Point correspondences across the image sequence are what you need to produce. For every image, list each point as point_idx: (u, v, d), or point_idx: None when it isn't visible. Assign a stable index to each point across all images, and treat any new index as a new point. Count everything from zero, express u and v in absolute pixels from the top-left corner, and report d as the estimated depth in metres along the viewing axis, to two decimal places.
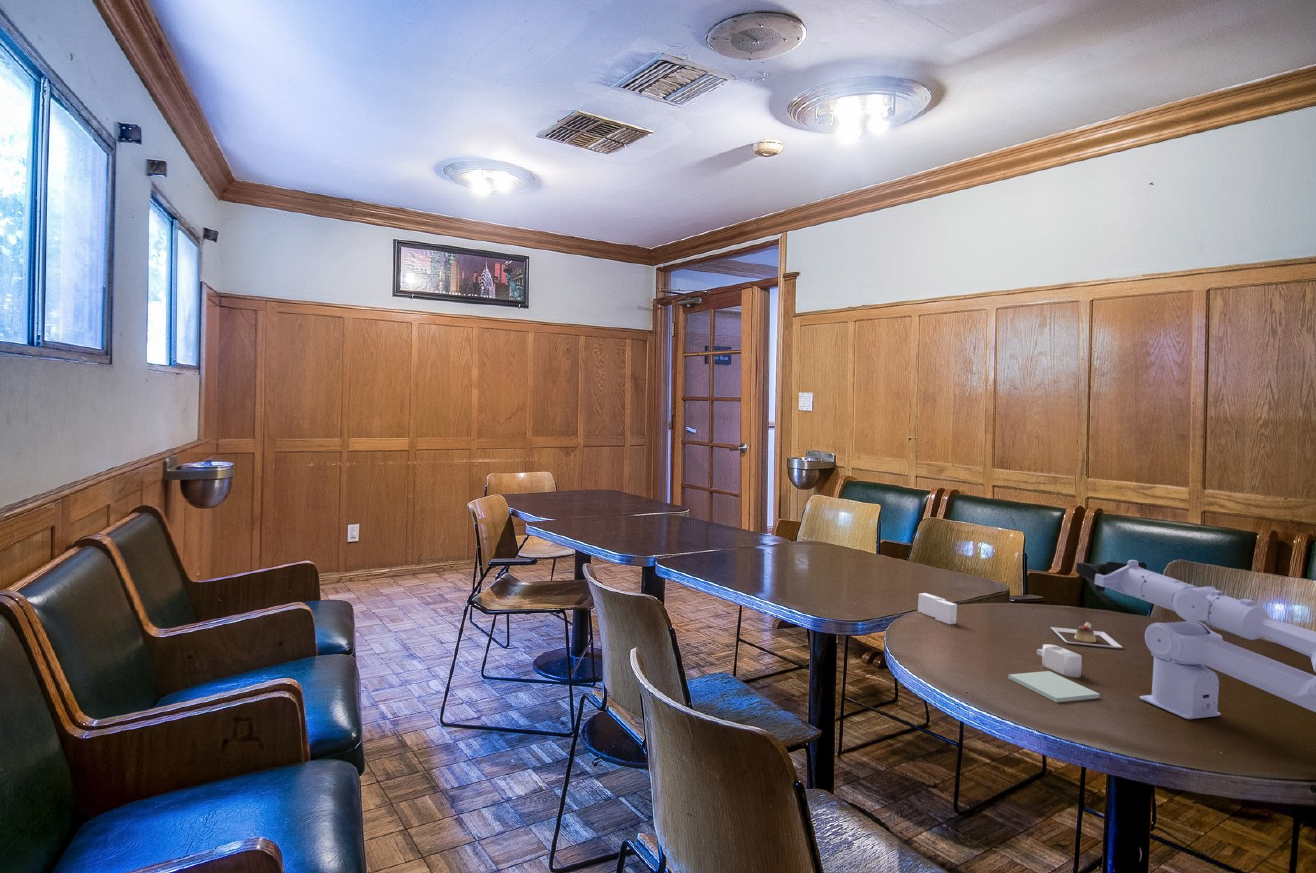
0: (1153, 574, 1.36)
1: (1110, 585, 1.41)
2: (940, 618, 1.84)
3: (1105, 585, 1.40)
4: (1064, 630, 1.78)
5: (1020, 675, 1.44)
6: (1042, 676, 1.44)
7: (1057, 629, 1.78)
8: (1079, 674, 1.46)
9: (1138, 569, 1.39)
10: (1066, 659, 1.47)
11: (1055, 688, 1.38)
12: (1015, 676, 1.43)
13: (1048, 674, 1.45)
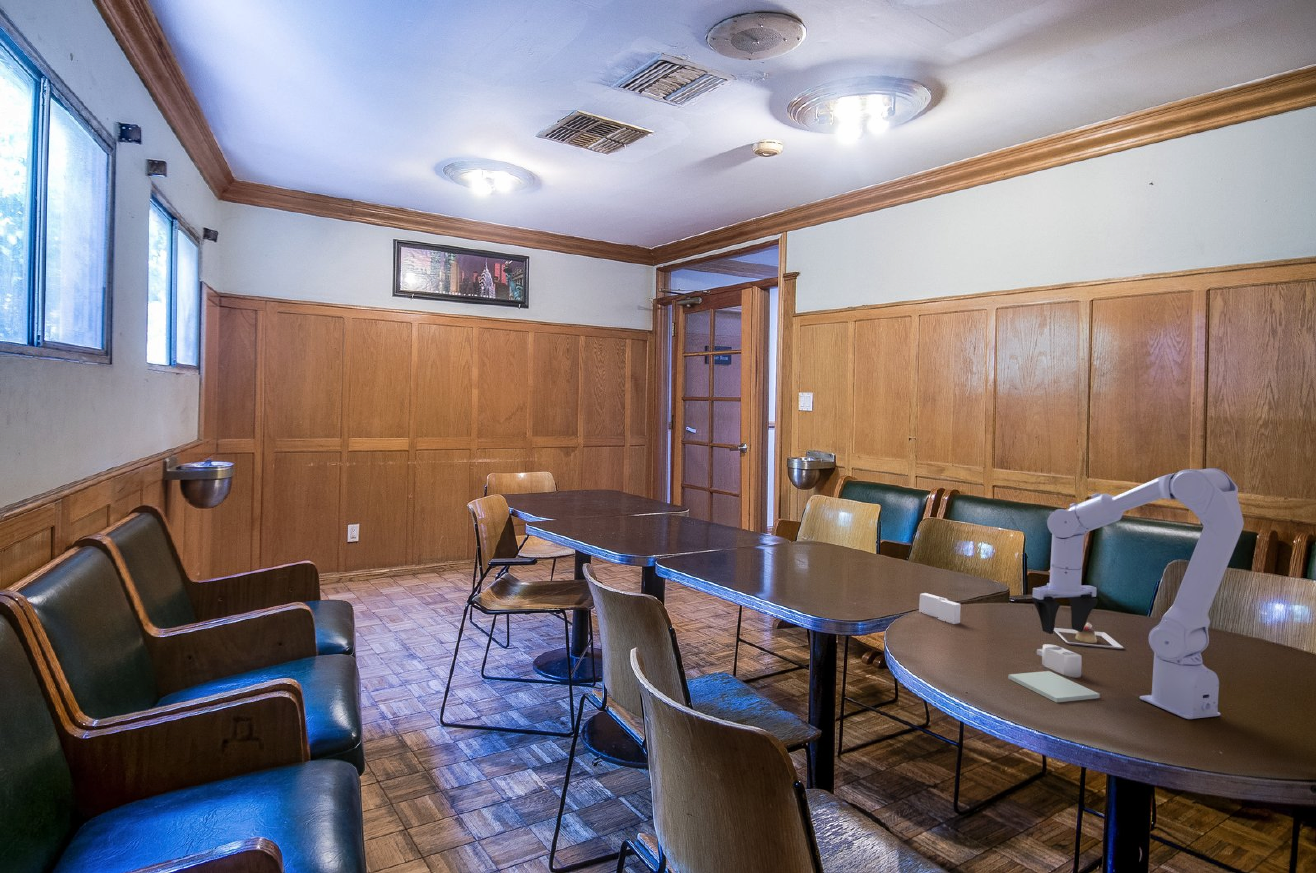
0: None
1: None
2: (943, 618, 1.84)
3: None
4: (1065, 631, 1.77)
5: (1020, 675, 1.44)
6: (1042, 676, 1.44)
7: (1058, 630, 1.78)
8: (1079, 674, 1.46)
9: None
10: (1066, 659, 1.47)
11: (1055, 688, 1.38)
12: (1015, 676, 1.43)
13: (1048, 674, 1.45)
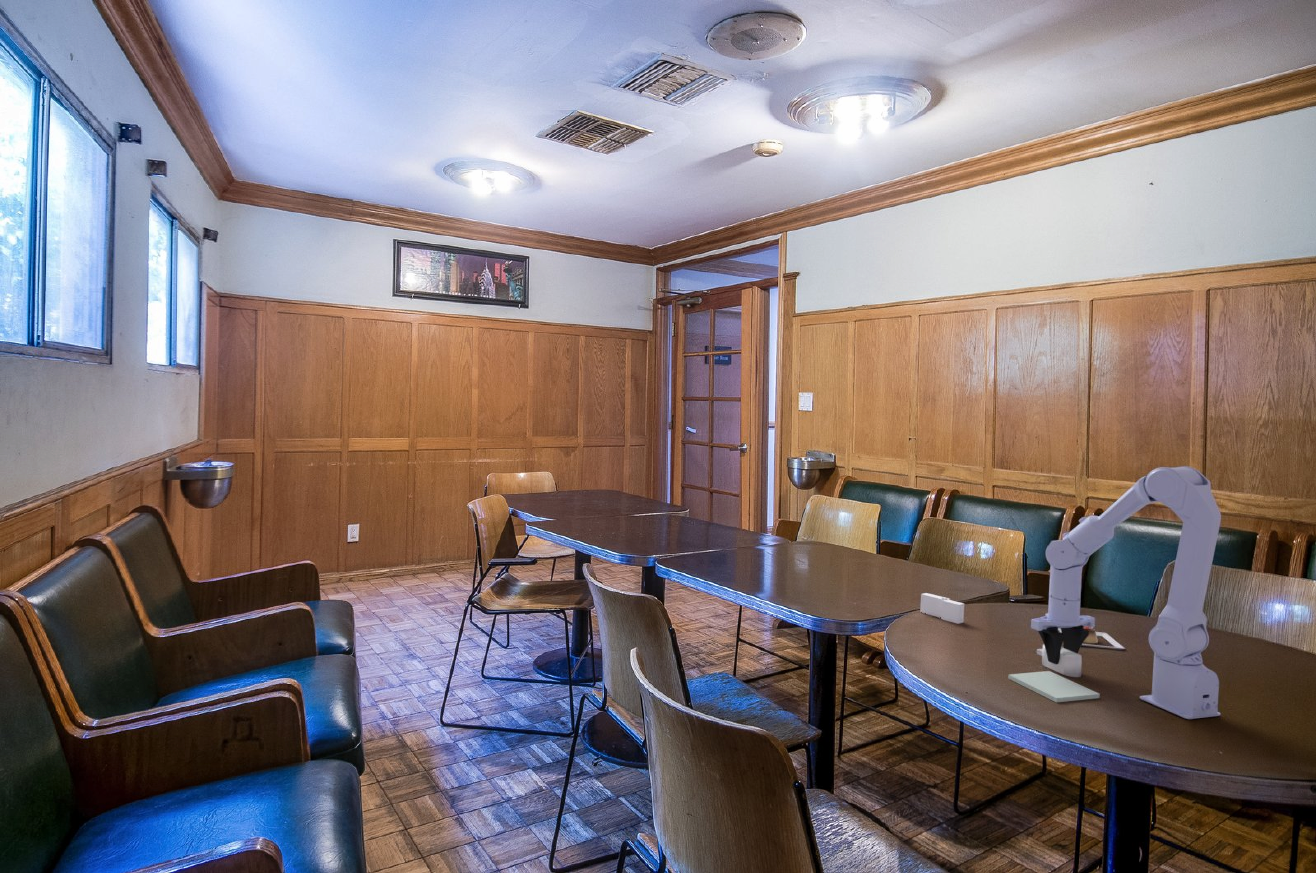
0: None
1: None
2: (947, 618, 1.84)
3: None
4: None
5: (1020, 675, 1.44)
6: (1042, 676, 1.44)
7: (1059, 630, 1.77)
8: (1079, 673, 1.46)
9: None
10: (1066, 659, 1.47)
11: (1055, 688, 1.38)
12: (1015, 676, 1.43)
13: (1048, 674, 1.45)
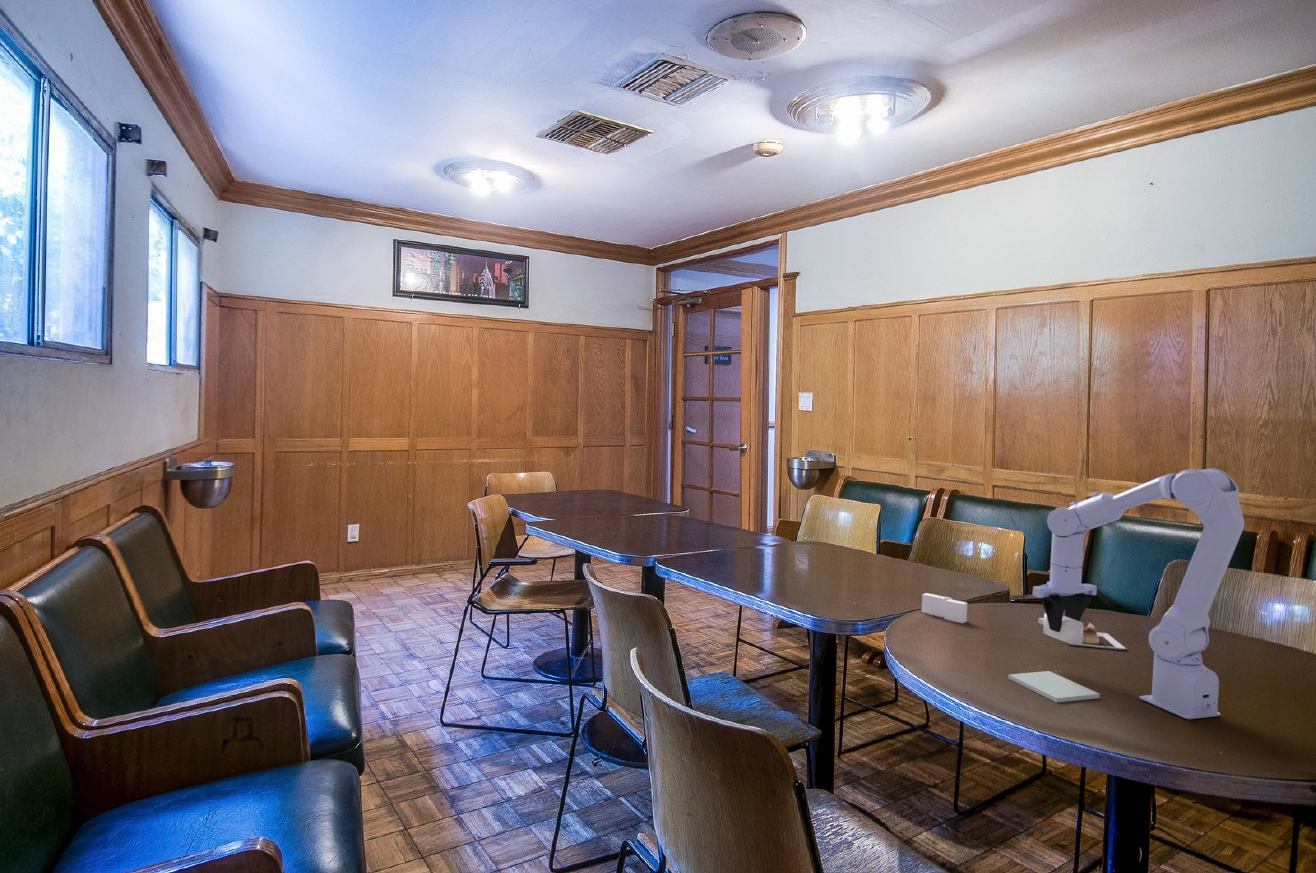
0: None
1: None
2: (951, 618, 1.84)
3: None
4: None
5: (1020, 675, 1.44)
6: (1042, 676, 1.44)
7: None
8: (1081, 641, 1.46)
9: None
10: (1068, 626, 1.47)
11: (1055, 688, 1.38)
12: (1015, 676, 1.43)
13: (1048, 674, 1.45)
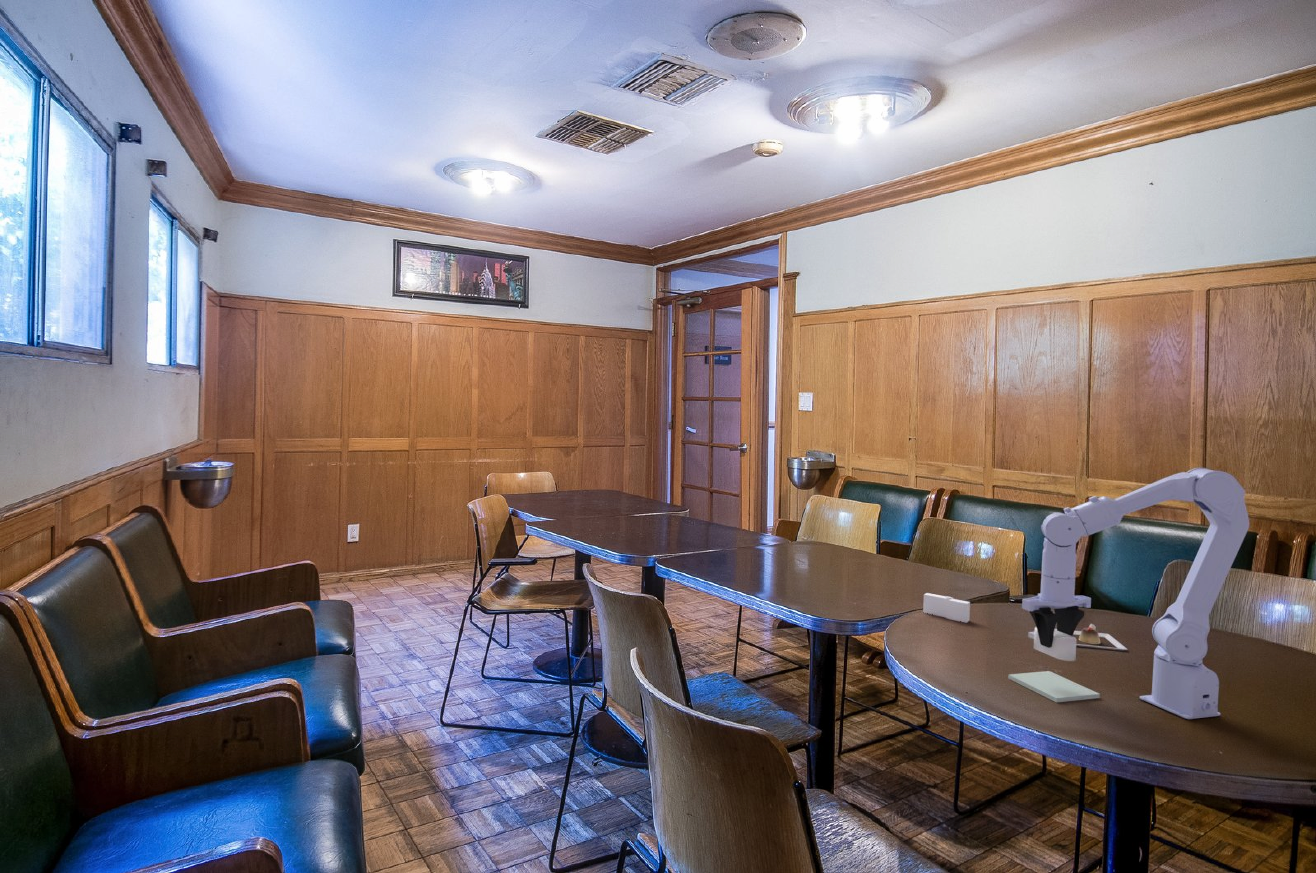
0: (1042, 573, 1.39)
1: None
2: (954, 617, 1.85)
3: None
4: None
5: (1020, 675, 1.44)
6: (1042, 676, 1.44)
7: None
8: (1073, 657, 1.36)
9: None
10: (1059, 641, 1.36)
11: (1055, 688, 1.38)
12: (1015, 676, 1.43)
13: (1048, 674, 1.45)
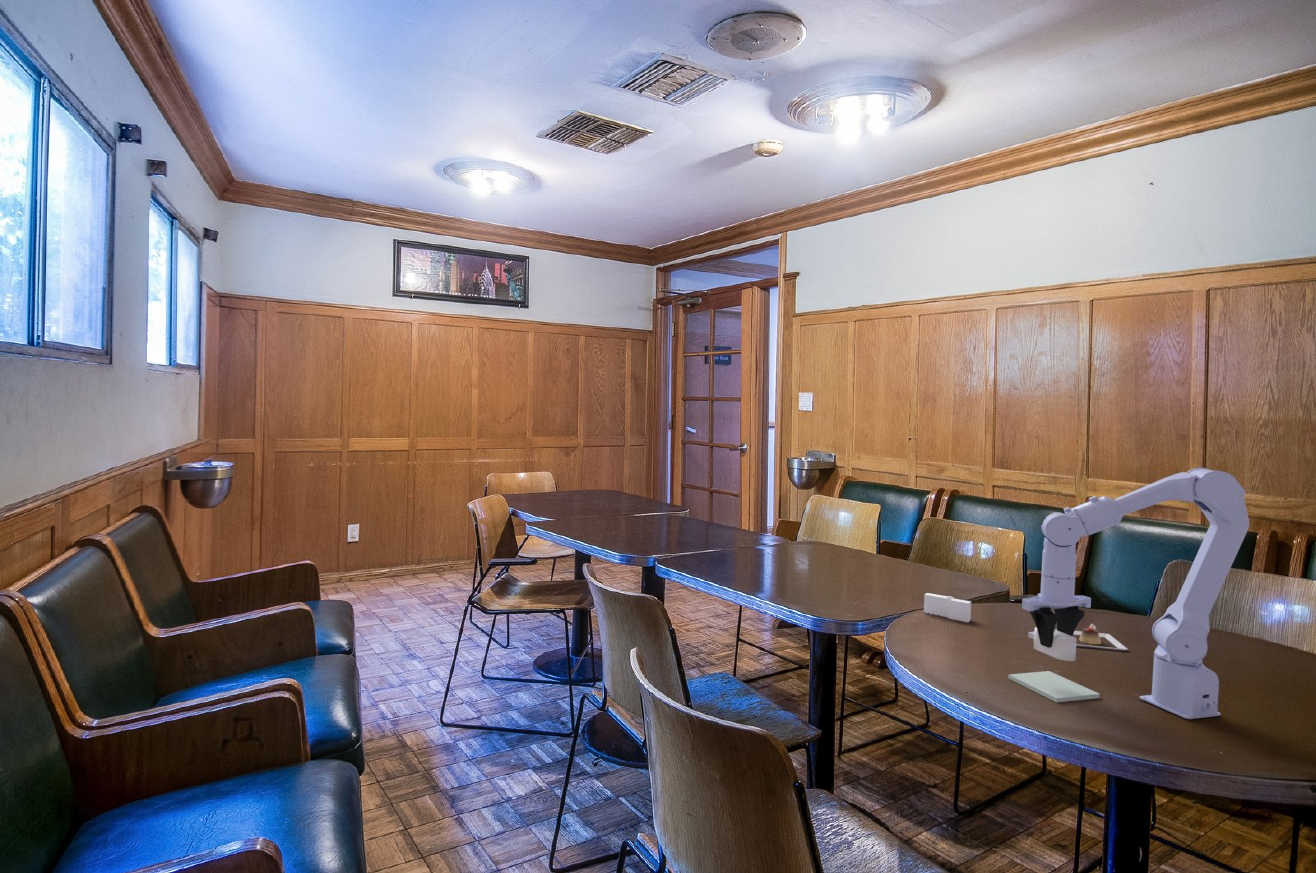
0: (1042, 573, 1.39)
1: None
2: (955, 617, 1.85)
3: None
4: None
5: (1020, 675, 1.44)
6: (1042, 676, 1.44)
7: None
8: (1073, 657, 1.36)
9: None
10: (1059, 641, 1.36)
11: (1055, 688, 1.38)
12: (1015, 676, 1.43)
13: (1048, 674, 1.45)
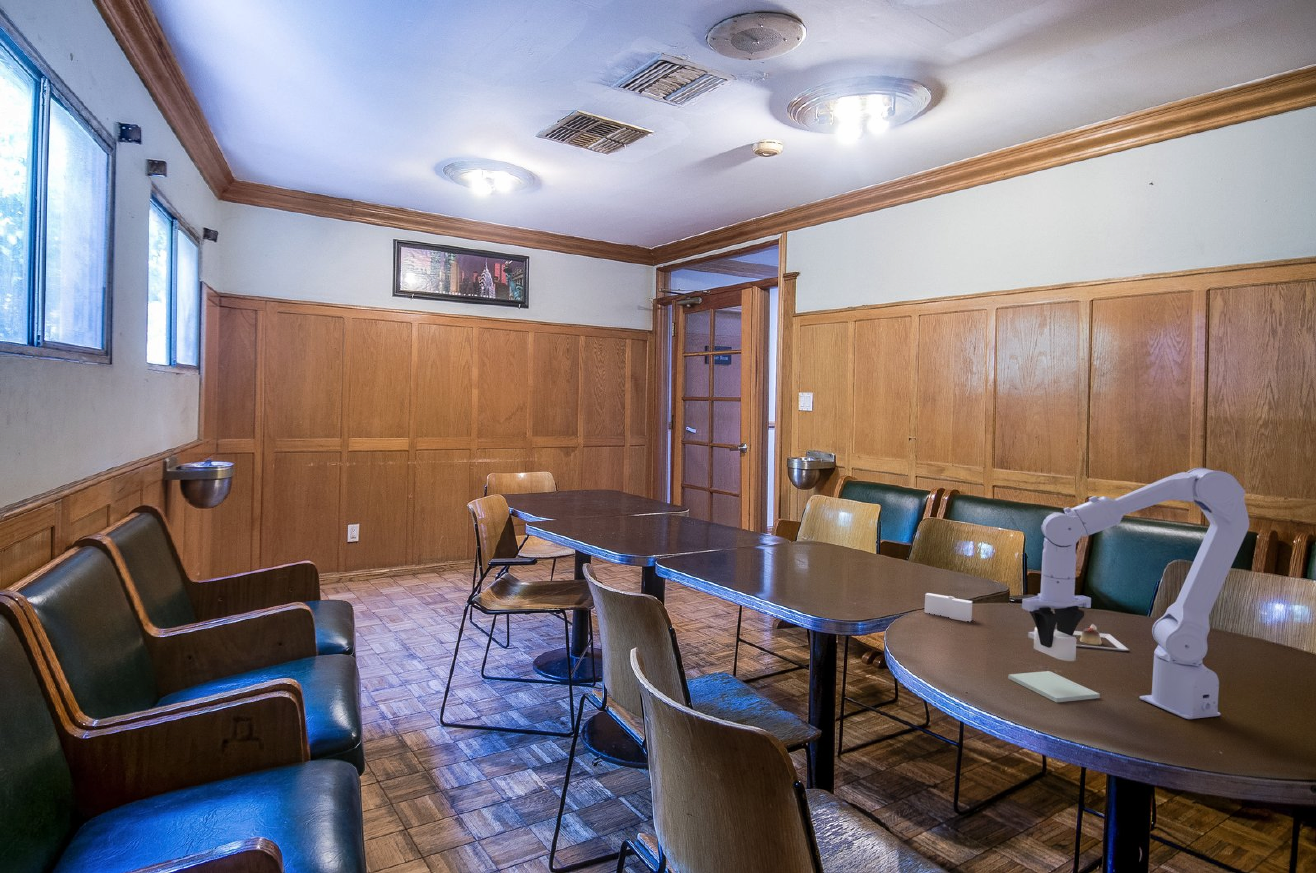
0: (1042, 573, 1.39)
1: None
2: (957, 617, 1.85)
3: None
4: None
5: (1020, 675, 1.44)
6: (1042, 676, 1.44)
7: None
8: (1073, 657, 1.36)
9: None
10: (1059, 641, 1.36)
11: (1055, 688, 1.38)
12: (1015, 676, 1.43)
13: (1048, 674, 1.45)
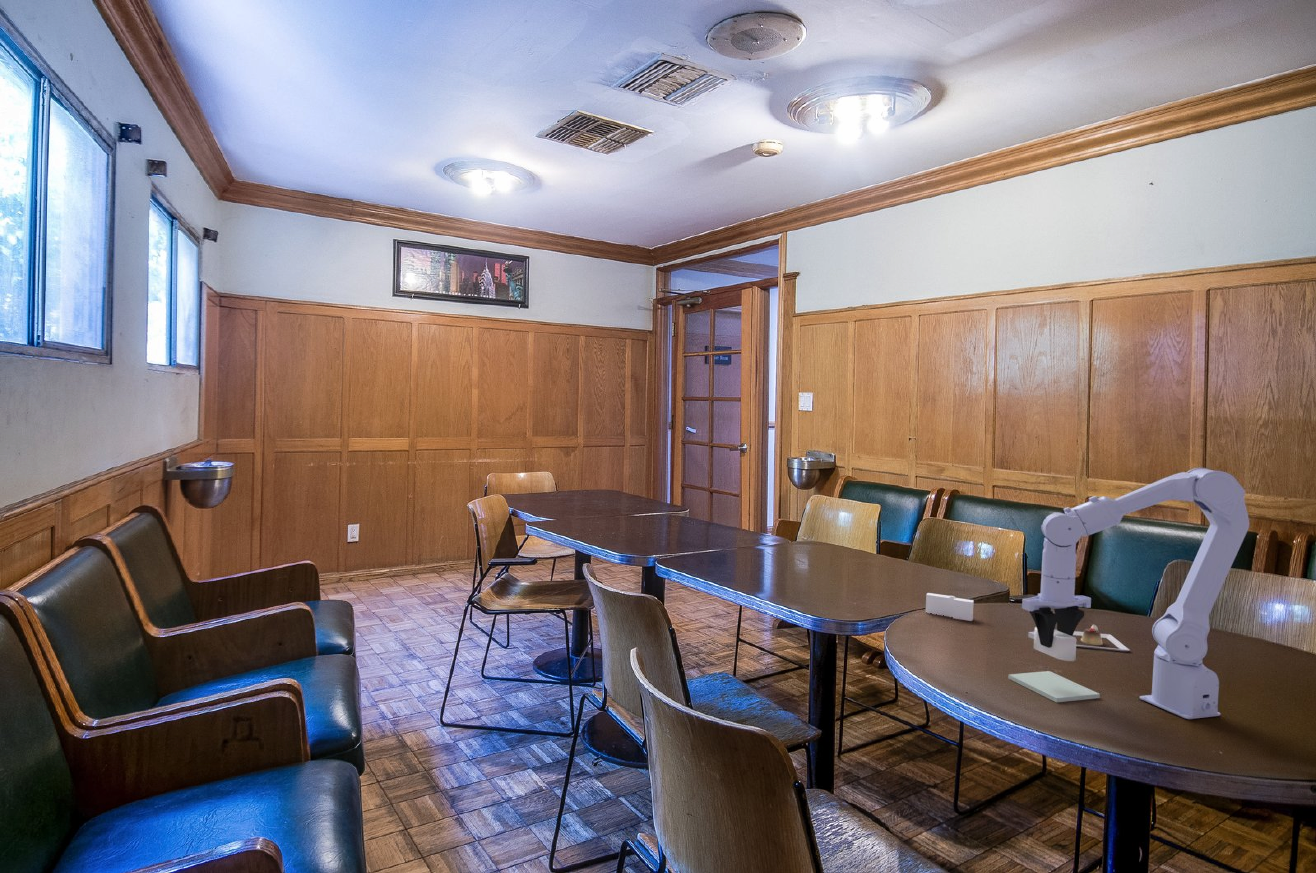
0: (1042, 573, 1.39)
1: None
2: (959, 616, 1.86)
3: None
4: None
5: (1020, 675, 1.44)
6: (1042, 676, 1.44)
7: None
8: (1073, 657, 1.36)
9: None
10: (1059, 641, 1.36)
11: (1055, 688, 1.38)
12: (1015, 676, 1.43)
13: (1048, 674, 1.45)
